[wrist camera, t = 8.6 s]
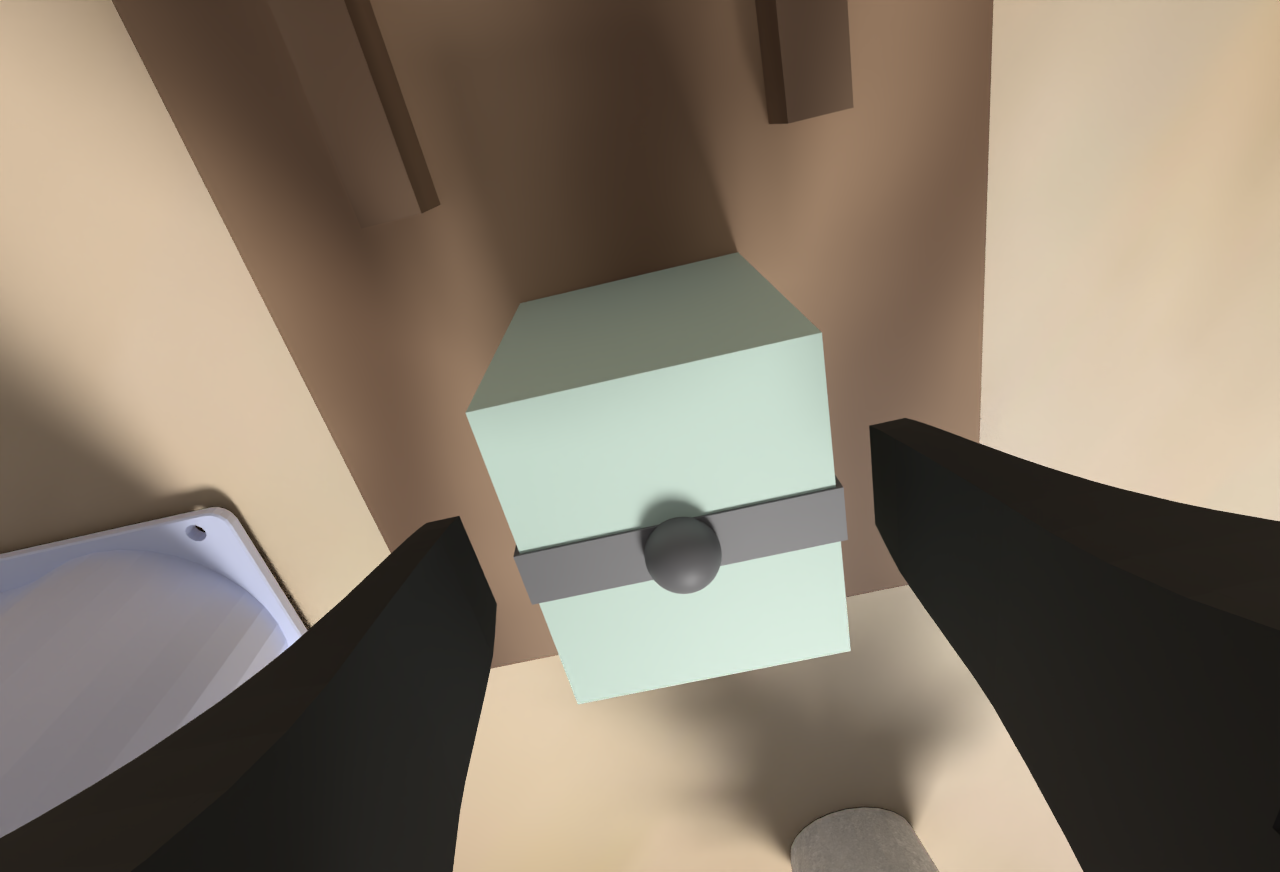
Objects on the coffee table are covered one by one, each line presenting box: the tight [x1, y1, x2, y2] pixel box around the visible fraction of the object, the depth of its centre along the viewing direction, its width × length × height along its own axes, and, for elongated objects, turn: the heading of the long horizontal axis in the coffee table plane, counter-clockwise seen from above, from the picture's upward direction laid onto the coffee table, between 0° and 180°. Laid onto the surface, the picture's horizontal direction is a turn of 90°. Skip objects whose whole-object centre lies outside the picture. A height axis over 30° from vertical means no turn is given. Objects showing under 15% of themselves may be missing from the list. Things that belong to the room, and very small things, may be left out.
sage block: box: [466, 252, 851, 704], centre depth 12 cm, size 5×6×7 cm
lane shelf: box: [112, 0, 993, 669], centre depth 13 cm, size 16×25×2 cm, turn 12°
